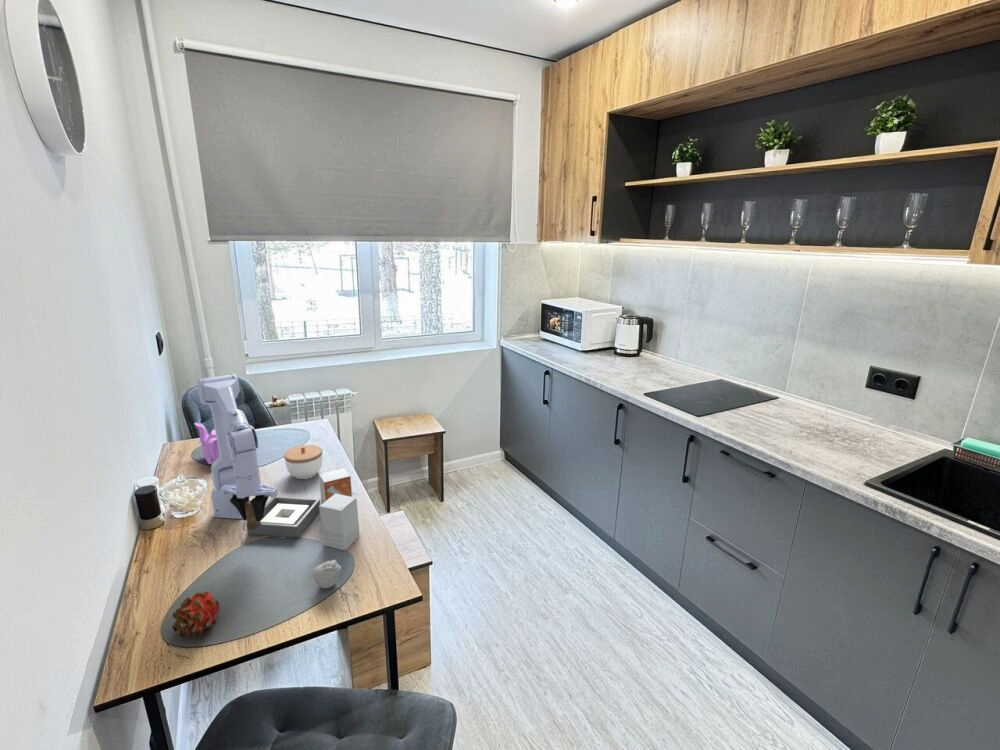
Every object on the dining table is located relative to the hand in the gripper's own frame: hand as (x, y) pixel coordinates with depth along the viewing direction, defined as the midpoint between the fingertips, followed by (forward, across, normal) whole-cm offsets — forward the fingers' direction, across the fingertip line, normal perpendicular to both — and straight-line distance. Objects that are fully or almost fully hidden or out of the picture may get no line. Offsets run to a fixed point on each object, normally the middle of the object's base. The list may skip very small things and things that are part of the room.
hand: (253, 518), depth 128 cm
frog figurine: (+10, +25, -11) cm, 29 cm away
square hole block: (+10, +1, +14) cm, 17 cm away
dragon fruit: (+10, +2, -26) cm, 28 cm away
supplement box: (+10, +21, +6) cm, 24 cm away
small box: (+10, +14, +20) cm, 27 cm away
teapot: (+10, -44, +52) cm, 69 cm away
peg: (+2, 0, 0) cm, 2 cm away
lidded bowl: (+10, -7, +42) cm, 44 cm away
